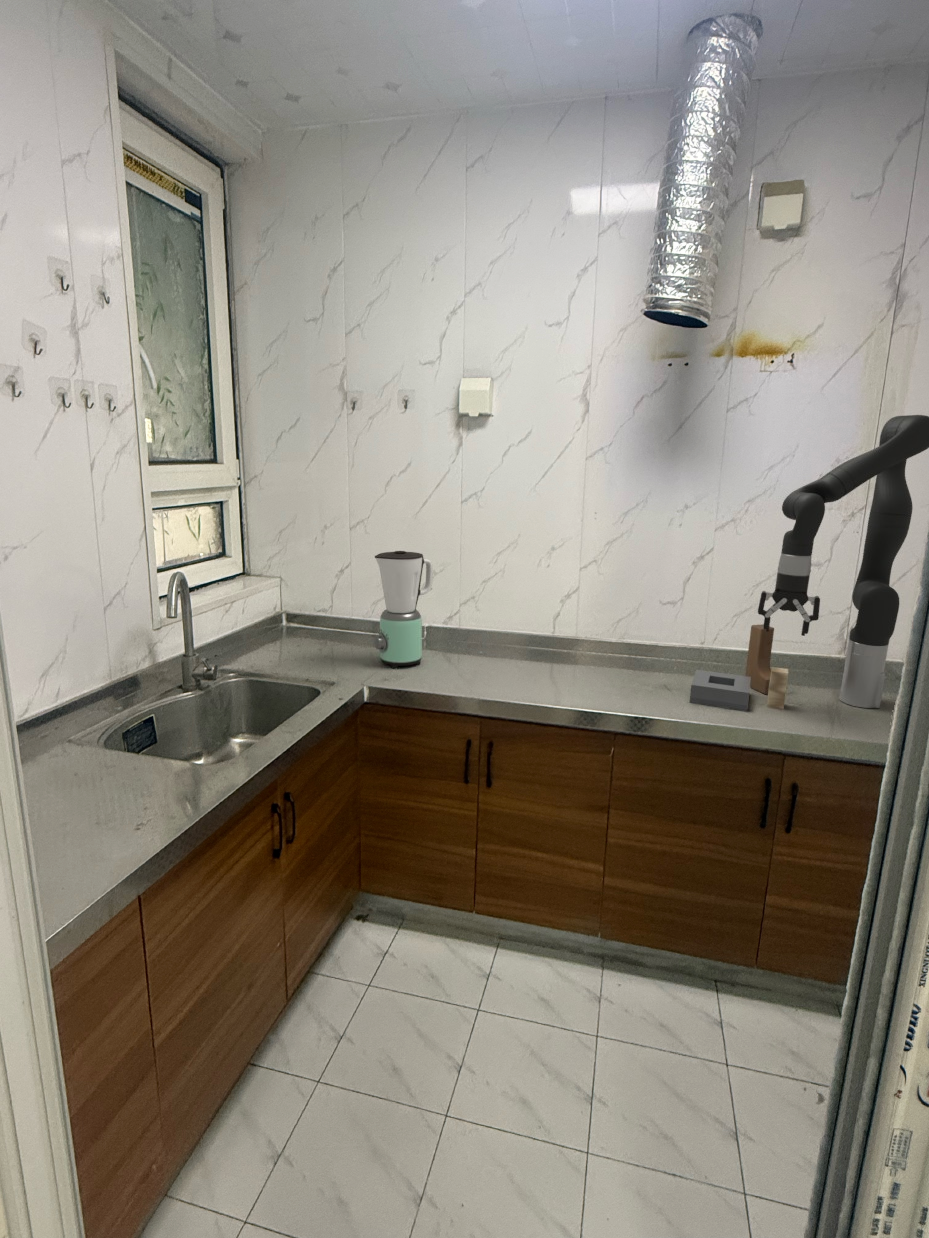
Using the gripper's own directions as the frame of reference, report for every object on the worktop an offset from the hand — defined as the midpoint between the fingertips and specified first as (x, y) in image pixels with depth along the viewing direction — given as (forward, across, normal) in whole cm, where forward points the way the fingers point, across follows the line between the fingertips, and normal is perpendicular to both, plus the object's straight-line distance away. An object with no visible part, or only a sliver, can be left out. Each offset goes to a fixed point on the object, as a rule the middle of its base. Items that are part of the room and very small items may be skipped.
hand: (784, 633), depth 178 cm
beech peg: (+20, 0, 0) cm, 20 cm away
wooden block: (+20, +4, -13) cm, 24 cm away
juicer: (+21, +107, +11) cm, 109 cm away
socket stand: (+20, +14, +1) cm, 24 cm away
